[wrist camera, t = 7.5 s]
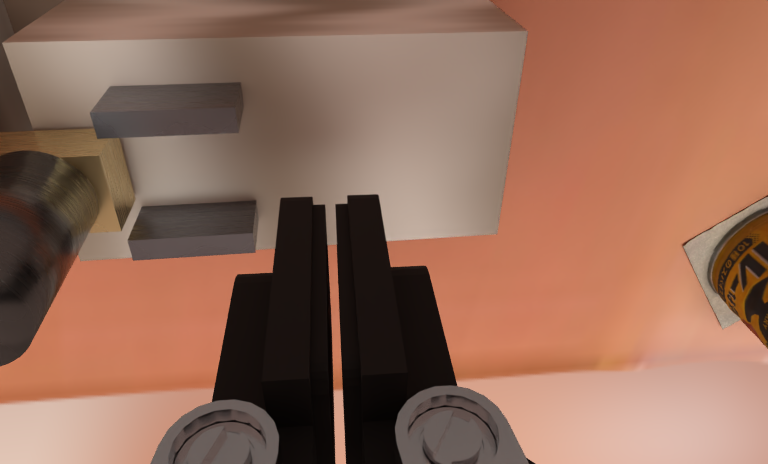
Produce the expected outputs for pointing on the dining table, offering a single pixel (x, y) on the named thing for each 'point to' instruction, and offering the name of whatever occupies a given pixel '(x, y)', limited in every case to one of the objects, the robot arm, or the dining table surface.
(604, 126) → the dining table surface
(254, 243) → the lock hardware
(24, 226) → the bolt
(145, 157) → the grey brown double block
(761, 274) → the condiment
